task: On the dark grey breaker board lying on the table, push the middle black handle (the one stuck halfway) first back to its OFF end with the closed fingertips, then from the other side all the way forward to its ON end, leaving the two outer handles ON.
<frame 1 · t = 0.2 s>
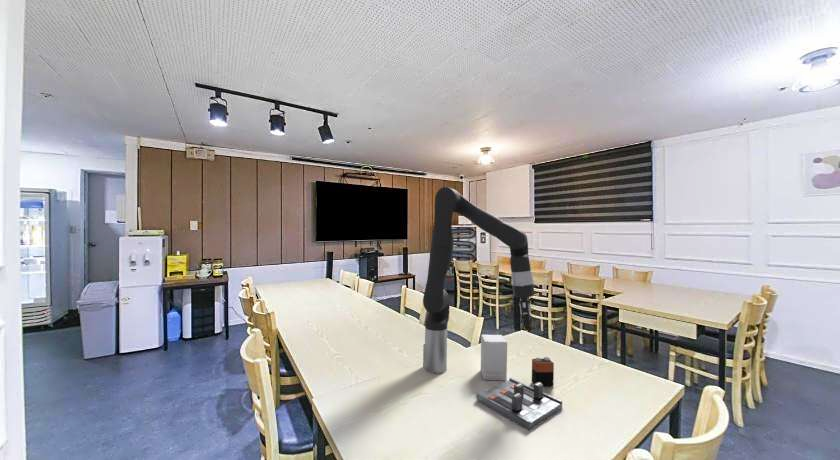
hand: (528, 327, 117), 22 cm above the table, tool pointing down, fingers open, 8 cm apart
breaker 1: (517, 401, 99), point 5 cm above the table, slide at 7.0 cm
supplement box: (493, 375, 127), on the table
breaker 2: (518, 391, 105), point 5 cm above the table, slide at 3.5 cm
breaker 3: (538, 390, 106), point 5 cm above the table, slide at 7.0 cm
battery: (542, 385, 120), on the table
panel: (518, 404, 105), on the table
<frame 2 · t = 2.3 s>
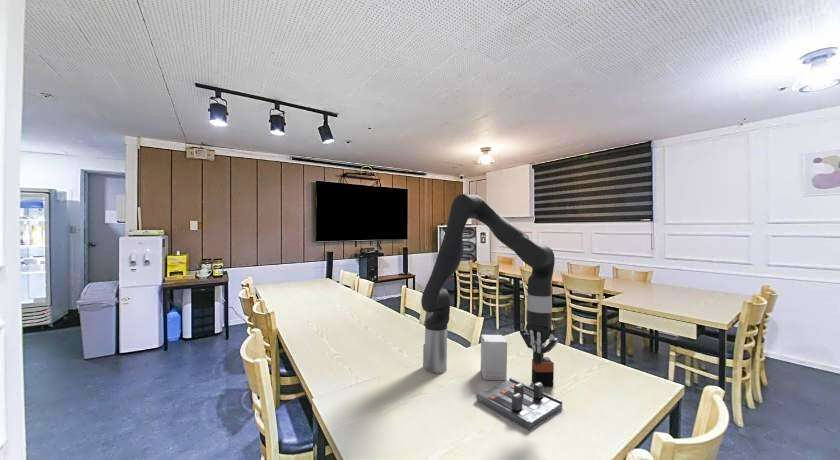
hand: (538, 363, 100), 16 cm above the table, tool pointing down, fingers closed
nothing on the table moved.
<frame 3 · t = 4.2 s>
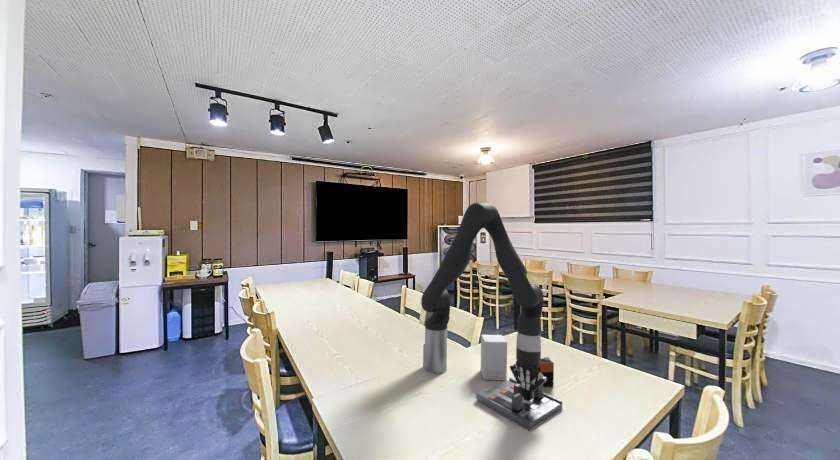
hand: (527, 399, 103), 3 cm above the table, tool pointing down, fingers closed
breaker 2: (518, 390, 105), point 5 cm above the table, slide at 3.3 cm, touching gripper
everything else where it was.
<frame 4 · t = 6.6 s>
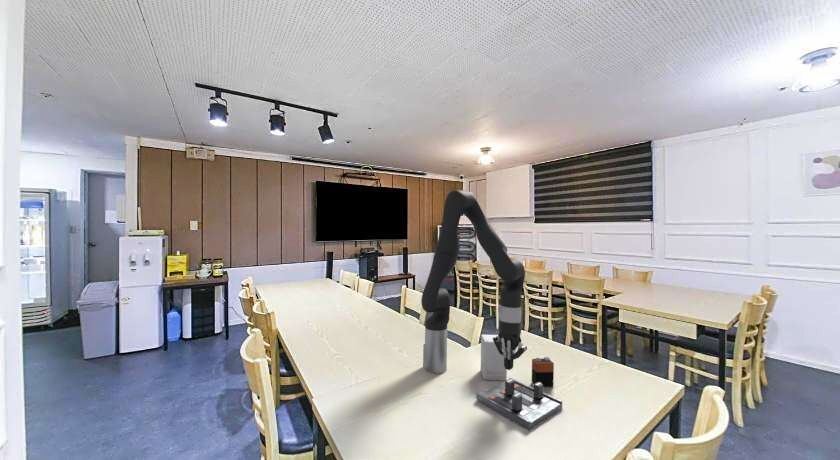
hand: (508, 368, 109), 11 cm above the table, tool pointing down, fingers closed
breaker 2: (509, 386, 108), point 5 cm above the table, slide at -0.1 cm
everything else where it was.
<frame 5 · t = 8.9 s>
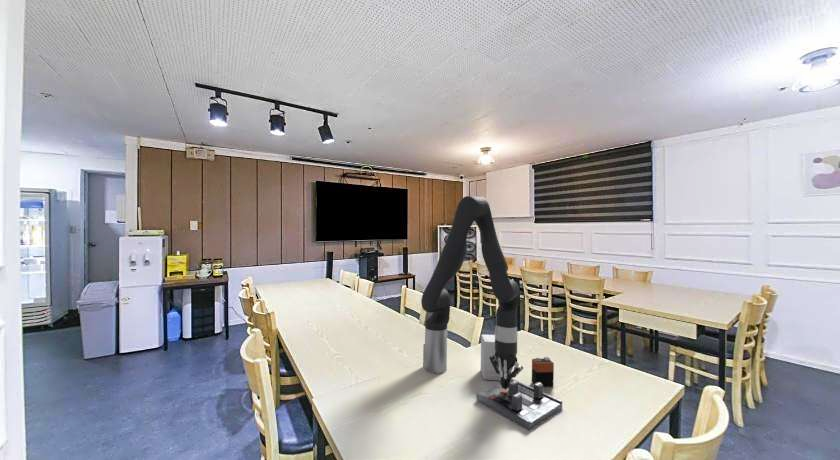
hand: (505, 388, 110), 3 cm above the table, tool pointing down, fingers closed
breaker 2: (513, 388, 107), point 5 cm above the table, slide at 1.4 cm, touching gripper
everything else where it was.
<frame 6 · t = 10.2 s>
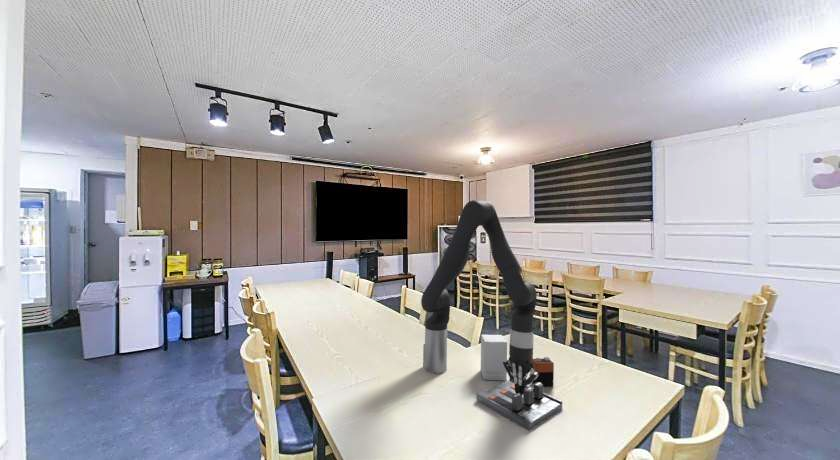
hand: (519, 394, 105), 3 cm above the table, tool pointing down, fingers closed
breaker 2: (528, 395, 102), point 5 cm above the table, slide at 7.1 cm, touching gripper
everything else where it was.
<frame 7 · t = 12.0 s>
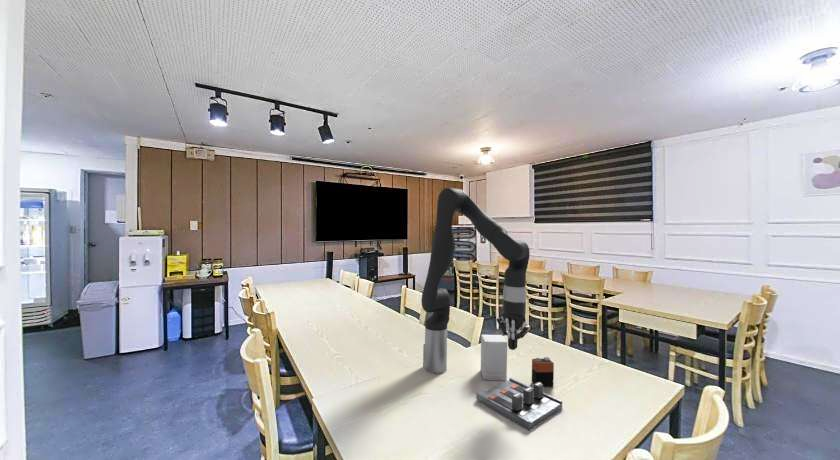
hand: (512, 349, 108), 17 cm above the table, tool pointing down, fingers closed
breaker 2: (528, 395, 102), point 5 cm above the table, slide at 7.1 cm
everything else where it was.
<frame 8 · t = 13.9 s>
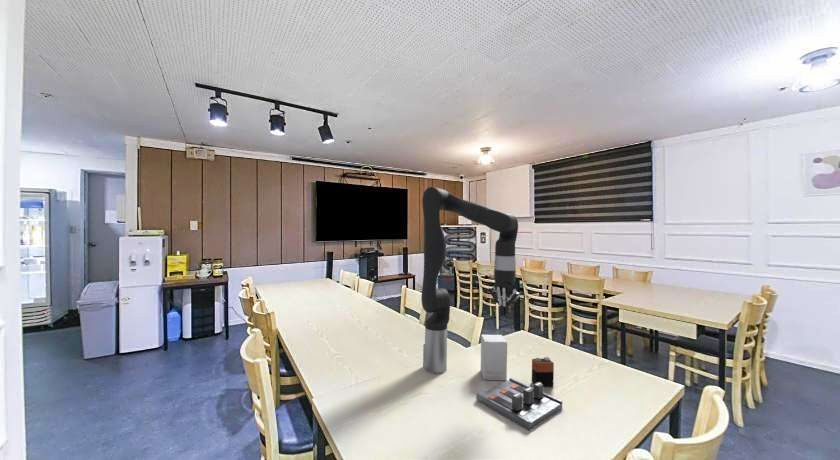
hand: (504, 316, 114), 27 cm above the table, tool pointing down, fingers closed
nothing on the table moved.
at the end: breaker 2 slide at 7.1 cm; breaker 1 slide at 7.0 cm; breaker 3 slide at 7.0 cm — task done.
